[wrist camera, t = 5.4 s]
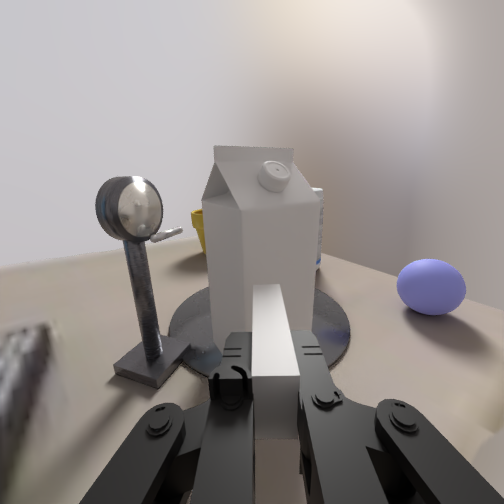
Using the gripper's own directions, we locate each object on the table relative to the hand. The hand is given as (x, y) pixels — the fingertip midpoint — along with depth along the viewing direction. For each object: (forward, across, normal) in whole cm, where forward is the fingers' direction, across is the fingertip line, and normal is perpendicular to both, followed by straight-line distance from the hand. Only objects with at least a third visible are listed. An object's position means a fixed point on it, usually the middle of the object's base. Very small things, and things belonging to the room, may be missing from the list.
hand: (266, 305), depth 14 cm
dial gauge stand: (+7, -11, -10) cm, 16 cm away
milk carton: (+8, 0, -10) cm, 13 cm away
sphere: (+16, +21, -10) cm, 28 cm away
